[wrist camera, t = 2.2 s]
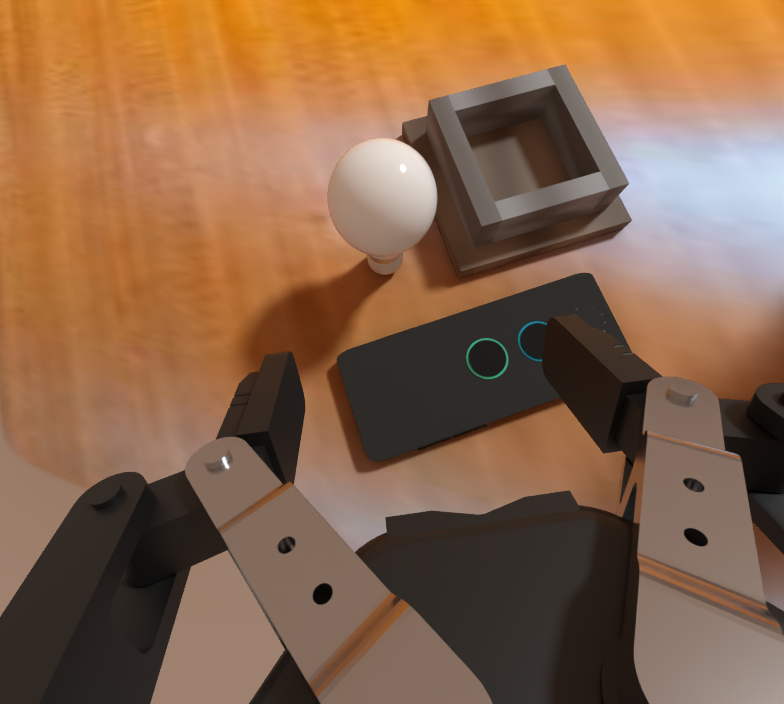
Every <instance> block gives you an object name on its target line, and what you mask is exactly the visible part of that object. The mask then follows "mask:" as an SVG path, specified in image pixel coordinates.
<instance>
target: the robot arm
mask: <svg viewBox="0 0 784 704" xmlns="http://www.w3.org/2000/svg"><path fill="white" fill-rule="evenodd" d="M542 368H543V372H544V375H545V377H546V379H547V380H548V382H549V383H550V384H551V386H552V387H553V388H554V389H555V391H556V392H557V393H558V395H559V396H560V397H561V399H562V400H563V401H564V403H565V404H566V405H567V406H568V408H569V409H570V410H571V412H572V413H573V414H574V416H575V417H576V418H577V419H578V421H579V422H580V423H581V425H582V426H583V427H584V429H585V430H586V431H587V432H588V434H589V435H590V436H591V438H592V439H593V440H594V442H595V443H596V444H597V446H598V447H599V448H600V449H601V451H602V452H603V453H609V452H616V451H623V453H624V454H625V458H624V461H623V465H622V471H621V478H620V485H619V492H618V499H617V506H616V512H615V514H612V513H610V512H607V511H603V510H600V509H596V508H592V507H586V506H580V505H578V504H577V502H576V501H575V499H574V497H573V496H572V494H571V492H570V491H563V492H556V493H549V494H542V495H536V496H529V497H524V498H521V499H519V500H517V501H514V502H512V503H510V504H507V505H505V506H502V507H500V508H498V509H495V510H493V511H491V512H488V513H486V514H481V515H475V514H463V513H451V512H440V511H426V512H420V513H413V514H406V515H399V516H392V517H386V528H387V533H384V534H382V535H380V536H378V537H376V538H374V539H372V540H371V541H369V542H367V543H366V544H365V545H363V546H362V547H361V548H359V549H358V550H357V551H356V552H354V551H353V550H352V549H351V548H350V547H349V546H348V544H347V543H346V542H345V541H344V540H343V539H342V538H341V537H340V536H339V534H338V533H337V532H336V531H335V530H334V529H333V528H332V527H331V526H330V524H329V523H328V522H327V521H326V520H325V519H324V518H323V517H322V516H321V514H320V513H319V512H318V511H317V510H316V509H315V508H314V507H313V506H312V505H311V503H310V502H309V501H308V500H307V499H306V498H305V497H304V496H303V495H302V493H301V492H300V491H299V490H298V489H297V488H296V487H295V486H294V479H295V473H296V466H297V460H298V453H299V447H300V440H301V434H302V427H303V421H304V414H305V398H304V392H303V389H302V385H301V381H300V378H299V374H298V370H297V367H296V363H295V360H294V356H293V354H292V352H290V351H289V352H281V353H274V354H267V355H265V357H264V360H263V363H262V365H261V368H260V371H259V372H252V373H250V374H249V375H248V376H246V377H245V378H244V379H243V380H242V381H241V382H240V383H239V385H238V388H237V390H236V392H235V395H234V398H233V400H232V402H231V404H230V408H229V409H228V411H227V414H226V416H225V418H224V421H223V423H222V426H221V428H220V430H219V433H218V435H217V437H216V440H214V441H212V442H210V443H207V444H206V445H204V446H202V447H201V448H200V449H198V450H197V451H196V452H195V453H194V454H193V455H192V456H191V457H190V459H189V460H188V462H187V464H186V468H185V470H184V471H182V472H179V473H177V474H174V475H171V476H169V477H166V478H163V479H161V480H158V481H155V482H153V483H150V484H148V483H147V482H146V480H145V479H144V477H143V476H142V475H141V474H139V473H136V472H124V473H119V474H116V475H113V476H110V477H108V478H106V479H104V480H102V481H100V482H98V483H97V484H95V485H94V486H92V487H91V488H90V489H88V490H87V491H86V492H85V493H84V494H82V496H81V497H80V498H79V499H78V500H77V501H76V503H75V504H74V505H73V507H72V508H71V510H70V512H69V513H68V514H67V516H66V518H65V519H64V521H63V522H62V524H61V525H60V527H59V528H58V530H57V531H56V533H55V534H54V536H53V537H52V539H51V540H50V542H49V543H48V545H47V546H46V548H45V550H44V551H43V553H42V554H41V556H40V557H39V559H38V560H37V562H36V563H35V565H34V566H33V568H32V569H31V571H30V572H29V574H28V575H27V577H26V579H25V580H24V582H23V583H22V585H21V586H20V588H19V589H18V591H17V592H16V594H15V595H14V597H13V598H12V600H11V601H10V603H9V605H8V606H7V607H6V609H5V611H4V612H3V614H2V615H1V617H0V704H150V702H151V699H152V696H153V692H154V689H155V685H156V682H157V679H158V675H159V672H160V669H161V665H162V662H163V659H164V655H165V652H166V649H167V645H168V642H169V639H170V635H171V632H172V628H173V625H174V622H175V618H176V615H177V612H178V608H179V605H180V602H181V598H182V595H183V592H184V588H185V585H186V581H187V578H188V574H189V571H190V568H191V566H193V565H195V564H197V563H199V562H202V561H204V560H206V559H208V558H211V557H213V556H215V555H217V554H220V553H222V552H224V551H226V550H228V552H229V553H230V555H231V557H232V559H233V560H234V562H235V564H236V565H237V567H238V569H239V570H240V572H241V574H242V576H243V578H244V579H245V581H246V582H247V584H248V586H249V588H250V590H251V591H252V593H253V595H254V596H255V598H256V600H257V602H258V603H259V605H260V607H261V609H262V610H263V612H264V613H265V616H266V617H267V619H268V621H269V622H270V624H271V626H272V628H273V630H274V631H275V633H276V635H277V636H278V638H279V640H280V642H281V644H282V645H283V647H284V649H285V651H284V652H283V654H282V655H281V657H280V658H279V660H278V661H277V663H276V664H275V666H274V667H273V669H272V670H271V672H270V673H269V675H268V676H267V678H266V679H265V681H264V682H263V684H262V685H261V687H260V688H259V690H258V691H257V693H256V694H255V696H254V697H253V699H252V700H251V702H250V703H249V704H784V611H782V610H781V609H779V608H777V607H775V606H774V605H772V604H770V603H769V602H767V601H765V597H764V591H763V585H762V579H761V573H760V567H759V561H758V555H757V549H756V543H755V537H754V531H753V525H752V521H753V522H754V523H755V524H756V525H757V526H758V527H759V529H760V530H761V531H762V532H763V533H764V534H765V535H766V536H767V537H768V538H769V539H770V540H771V541H772V542H773V543H774V545H775V546H776V547H777V548H778V549H779V550H780V551H781V552H782V553H783V554H784V384H783V383H769V384H764V385H761V386H759V387H758V388H757V389H756V391H755V393H754V395H753V397H752V399H751V401H744V400H730V399H718V398H717V396H716V395H715V394H714V393H713V392H712V391H711V390H709V389H708V388H706V387H705V386H703V385H701V384H699V383H696V382H694V381H691V380H688V379H683V378H678V377H663V376H661V375H660V374H659V373H658V372H656V371H655V370H654V369H653V368H651V367H650V366H649V365H648V364H647V363H645V362H644V361H643V360H642V359H640V358H639V357H638V356H637V355H635V354H634V353H633V354H632V351H631V350H629V349H628V348H627V347H626V346H622V343H621V342H619V341H618V340H617V339H616V338H615V337H613V336H612V335H611V334H608V333H606V332H604V331H601V330H599V329H597V328H595V327H594V328H592V327H591V326H590V325H588V324H587V323H586V322H585V321H584V320H583V319H581V318H580V317H579V316H578V315H566V316H559V317H552V318H550V319H549V320H548V322H547V326H546V333H545V341H544V349H543V356H542Z"/></svg>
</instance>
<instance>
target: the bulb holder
mask: <svg viewBox="0 0 784 704" xmlns="http://www.w3.org/2000/svg"><path fill="white" fill-rule="evenodd" d="M402 135H403V138H404V140H405V143H406V144H407V145H409V146H411V147H412V148H414V149H415V150H416V151H417V152H418V153H419V154H420V155H421V156H422V157H423V158H424V159H425V161H426V162H427V164H428V165H429V167H430V169H431V171H432V173H433V176H434V179H435V182H436V187H437V208H436V213H435V220H436V222H437V225H438V227H439V230H440V233H441V235H442V238H443V240H444V243H445V245H446V248H447V251H448V253H449V256H450V258H451V261H452V263H453V266H454V269H455V271H456V274H457V276H458V278H461V277H464V276H468V275H471V274H474V273H478V272H481V271H484V270H488V269H491V268H494V267H498V266H501V265H504V264H508V263H511V262H514V261H518V260H521V259H524V258H528V257H531V256H534V255H538V254H541V253H544V252H548V251H551V250H554V249H558V248H561V247H564V246H568V245H571V244H574V243H578V242H581V241H584V240H588V239H591V238H594V237H598V236H601V235H604V234H608V233H611V232H614V231H618V230H621V229H623V228H624V227H625V226H626V225H628V224H629V223H630V222H631V221H632V219H631V218H630V216H629V214H628V212H627V210H626V208H625V206H624V204H623V202H622V200H621V199H620V197H619V194H620V193H621V192H622V191H623V190H624V189H625V188H626V186H627V185H628V184H629V182H628V180H627V178H626V177H625V175H624V173H623V171H622V169H621V167H620V165H619V164H618V162H617V160H616V158H615V156H614V154H613V152H612V151H611V149H610V147H609V145H608V143H607V141H606V139H605V138H604V136H603V134H602V132H601V130H600V128H599V126H598V125H597V123H596V121H595V119H594V117H593V115H592V113H591V112H590V110H589V108H588V106H587V104H586V102H585V100H584V98H583V97H582V95H581V93H580V91H579V89H578V87H577V85H576V84H575V82H574V80H573V78H572V76H571V74H570V72H569V71H568V69H567V67H566V65H561V66H558V67H554V68H550V69H546V70H542V71H539V72H535V73H531V74H527V75H523V76H520V77H516V78H512V79H508V80H504V81H501V82H497V83H493V84H489V85H485V86H482V87H478V88H474V89H470V90H466V91H463V92H459V93H455V94H451V95H447V96H444V97H440V98H436V99H432V100H429V105H428V115H427V116H426V117H422V118H418V119H414V120H411V121H407V122H403V124H402Z"/></svg>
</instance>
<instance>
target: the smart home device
mask: <svg viewBox="0 0 784 704" xmlns="http://www.w3.org/2000/svg"><path fill="white" fill-rule="evenodd" d="M566 315H578V316H579V317H580V318H581V319H583V320H584V321H585V322H586V323H587V324H588V325H590V326H591V327H592V328H594V327H595V328H597V329H599V330H601V331H604V332H606V333H608V334H611V335H612V336H613V337H615V338H616V339H617V340H618V341H619V342H621V343H622V346H626V347H627V348H628V349H629V350H631V349H630V347H629V346H628V344H627V342H626V340H625V338H624V336H623V334H622V332H621V330H620V328H619V326H618V324H617V322H616V320H615V318H614V316H613V314H612V312H611V310H610V308H609V306H608V304H607V302H606V300H605V298H604V297H603V295H602V293H601V291H600V289H599V287H598V285H597V283H596V281H595V279H594V277H593V275H592V274H590V273H579V274H575V275H572V276H569V277H566V278H563V279H560V280H557V281H554V282H551V283H548V284H545V285H542V286H539V287H536V288H533V289H530V290H527V291H524V292H521V293H518V294H515V295H512V296H509V297H506V298H503V299H500V300H497V301H494V302H490V303H487V304H484V305H481V306H478V307H475V308H472V309H469V310H466V311H463V312H460V313H457V314H454V315H451V316H448V317H445V318H442V319H439V320H436V321H433V322H430V323H427V324H424V325H421V326H418V327H415V328H411V329H408V330H405V331H402V332H399V333H396V334H393V335H390V336H387V337H384V338H381V339H379V340H376V341H373V342H369V343H366V344H363V345H360V346H357V347H354V348H351V349H349V350H346V351H345V352H343V353H341V354H340V355H339V356H338V358H337V363H338V367H339V370H340V373H341V376H342V379H343V383H344V386H345V389H346V392H347V395H348V398H349V402H350V405H351V408H352V411H353V414H354V417H355V421H356V424H357V427H358V430H359V433H360V436H361V440H362V443H363V446H364V449H365V452H366V454H367V458H368V459H369V460H371V461H382V460H386V459H389V458H392V457H394V456H397V455H400V454H403V453H406V452H408V451H411V450H414V449H417V448H418V450H420V449H423V448H426V447H429V446H431V445H434V444H437V443H440V442H443V441H445V440H448V439H451V438H452V437H457V436H459V435H462V434H465V433H468V432H471V431H473V430H476V429H479V428H482V427H485V426H487V423H490V422H493V421H496V420H498V419H501V418H504V417H507V416H510V415H512V414H515V413H518V412H521V411H524V410H526V409H529V408H532V407H535V406H538V405H540V404H543V403H546V402H549V401H552V400H555V399H557V398H560V396H559V395H558V393H557V392H556V391H555V389H554V388H553V387H552V386H551V384H550V383H549V382H548V380H547V379H546V377H545V375H544V372H543V368H542V356H543V349H544V341H545V333H546V326H547V322H548V320H549V319H550V318H552V317H559V316H566ZM632 354H633V353H632Z"/></svg>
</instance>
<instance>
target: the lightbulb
mask: <svg viewBox="0 0 784 704" xmlns="http://www.w3.org/2000/svg"><path fill="white" fill-rule="evenodd" d="M327 201H328V209H329V213H330V216H331V219H332V222H333V224H334V226H335V228H336V230H337V231H338V233H339V234H340V235H341V237H342V238H343V239H344V240H345V241H346V242H347V243H348V244H350V245H351V246H352V247H354V248H355V249H357V250H359V251H361V252H363V253H365V254H367V260H368V264H369V266H370V268H371V269H372V270H373V271H374V272H376V273H378V274H382V275H387V274H391V273H394V272H395V271H397V270H398V269H399V267H400V266H401V264H402V256H403V252H405V251H407V250H409V249H411V248H412V247H413V246H415V245H416V244H417V243H418V242H419V241H420V240H421V239H422V238H423V237H424V236H425V234H426V233H427V232H428V230H429V228H430V226H431V224H432V222H433V220H434V217H435V213H436V208H437V187H436V182H435V179H434V176H433V173H432V171H431V169H430V167H429V165H428V164H427V162H426V161H425V159H424V158H423V157H422V156H421V155H420V154H419V153H418V152H417V151H416V150H415V149H414V148H412V147H411V146H409V145H407V144H405V143H403V142H401V141H398V140H395V139H390V138H373V139H369V140H365V141H363V142H360V143H358V144H356V145H355V146H353V147H352V148H350V149H349V150H348V151H347V152H346V153H345V154H344V155H343V156H342V157H341V158H340V159H339V161H338V162H337V164H336V165H335V167H334V169H333V171H332V174H331V177H330V180H329V185H328V192H327Z"/></svg>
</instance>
